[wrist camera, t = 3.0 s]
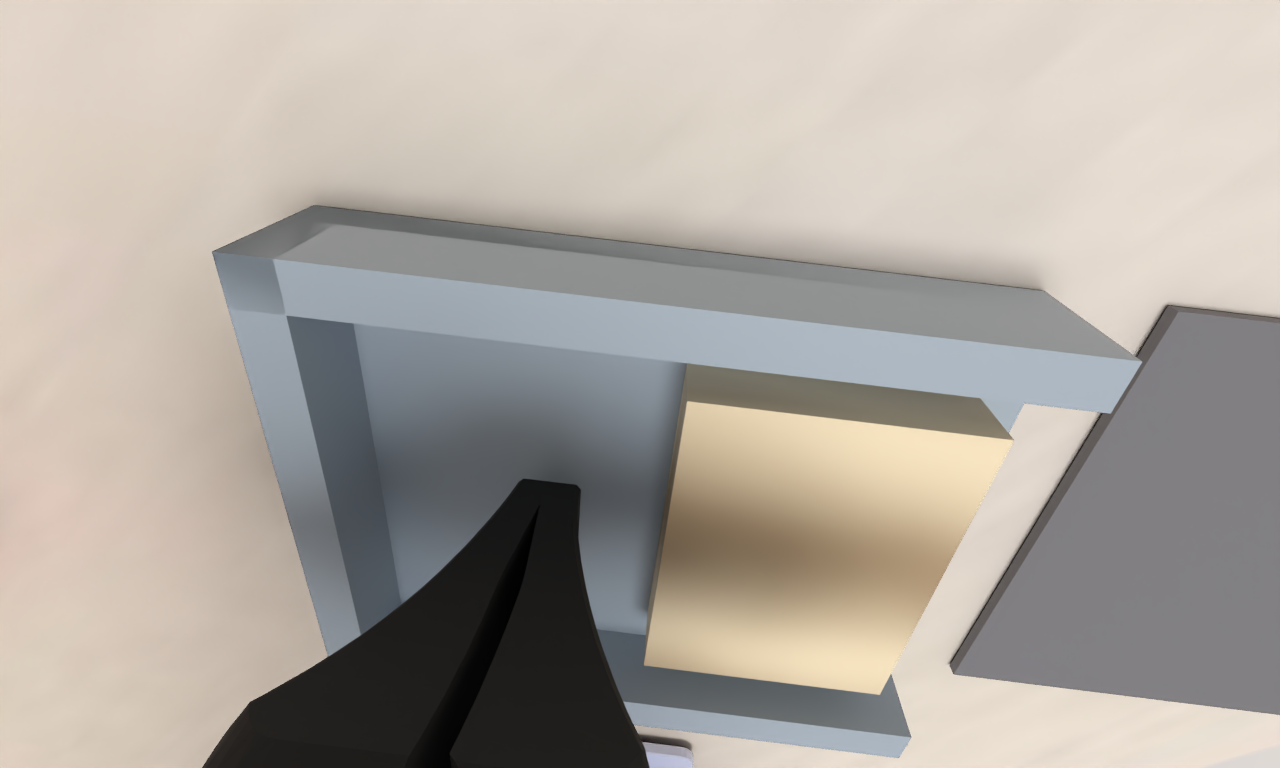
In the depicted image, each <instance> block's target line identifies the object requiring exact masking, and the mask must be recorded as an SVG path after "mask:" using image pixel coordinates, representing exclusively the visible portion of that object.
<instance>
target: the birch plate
mask: <svg viewBox="0 0 1280 768" xmlns="http://www.w3.org/2000/svg"><path fill="white" fill-rule="evenodd" d="M1013 442H1014V439H1013V438H1012V437H1011V436H1010V434H1009V433H1008V432H1007V431H1006V429H1005V428H1004V427H1003V426H1002V424H1001V423H1000V422H999V421H998V419H997V418H996V417H995V416H994V415H993V413H992V412H991V411H990V410H989V408H988V407H987V406H986V405H985V403H984V402H983V401H982V400H981V398H974V397H966V396H958V395H949V394H941V393H932V392H924V391H916V390H907V389H899V388H890V387H882V386H874V385H865V384H857V383H849V382H840V381H832V380H823V379H815V378H807V377H798V376H790V375H781V374H773V373H765V372H756V371H748V370H739V369H731V368H723V367H714V366H706V365H697V364H689V363H687V365H686V371H685V378H684V384H683V390H682V397H681V403H680V409H679V416H678V422H677V428H676V435H675V441H674V447H673V454H672V460H671V466H670V473H669V479H668V485H667V492H666V498H665V504H664V511H663V517H662V523H661V530H660V536H659V542H658V549H657V555H656V561H655V568H654V574H653V580H652V587H651V593H650V599H649V606H648V612H647V626H646V640H645V654H644V666H652V667H660V668H668V669H676V670H684V671H692V672H700V673H708V674H716V675H724V676H732V677H741V678H749V679H757V680H765V681H773V682H781V683H789V684H797V685H805V686H813V687H821V688H829V689H837V690H845V691H853V692H861V693H869V694H877V695H880V694H881V692H882V690H883V688H884V686H885V684H886V682H887V680H888V678H889V677H890V675H891V673H892V671H893V669H894V667H895V665H896V663H897V661H898V660H899V658H900V656H901V654H902V652H903V650H904V648H905V646H906V644H907V642H908V641H909V639H910V637H911V635H912V633H913V631H914V629H915V627H916V625H917V624H918V622H919V620H920V618H921V616H922V614H923V612H924V610H925V608H926V607H927V605H928V603H929V601H930V599H931V597H932V595H933V593H934V591H935V589H936V588H937V586H938V584H939V582H940V580H941V578H942V576H943V574H944V572H945V571H946V569H947V567H948V565H949V563H950V561H951V559H952V557H953V555H954V553H955V552H956V550H957V548H958V546H959V544H960V542H961V540H962V538H963V536H964V535H965V533H966V531H967V529H968V527H969V525H970V523H971V521H972V519H973V518H974V516H975V514H976V512H977V510H978V508H979V506H980V504H981V502H982V500H983V499H984V497H985V495H986V493H987V491H988V489H989V487H990V485H991V483H992V482H993V480H994V478H995V476H996V474H997V472H998V470H999V468H1000V466H1001V465H1002V463H1003V461H1004V459H1005V457H1006V455H1007V453H1008V451H1009V449H1010V447H1011V446H1012V444H1013Z"/></svg>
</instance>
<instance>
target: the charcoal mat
mask: <svg viewBox="0 0 1280 768" xmlns="http://www.w3.org/2000/svg"><path fill="white" fill-rule="evenodd" d="M1137 358H1138V359H1140V360H1141V361H1142V363H1141V365H1140V367H1139V368H1138V370H1137V372H1136V373H1135V375H1134V376H1133V378H1132V380H1131V381H1130V383H1129V385H1128V386H1127V388H1126V389H1125V391H1124V393H1123V394H1122V396H1121V398H1120V399H1119V401H1118V402H1117V404H1116V406H1115V407H1114V409H1113V411H1112V412H1111V414H1109V413H1103V414H1102V415H1101V417H1100V419H1099V420H1098V422H1097V424H1096V425H1095V427H1094V428H1093V430H1092V432H1091V433H1090V435H1089V437H1088V438H1087V440H1086V442H1085V443H1084V445H1083V447H1082V448H1081V450H1080V452H1079V453H1078V455H1077V456H1076V458H1075V460H1074V461H1073V463H1072V465H1071V466H1070V468H1069V470H1068V471H1067V473H1066V475H1065V476H1064V478H1063V480H1062V481H1061V483H1060V485H1059V486H1058V488H1057V489H1056V491H1055V493H1054V494H1053V496H1052V498H1051V499H1050V501H1049V503H1048V504H1047V506H1046V508H1045V509H1044V511H1043V513H1042V514H1041V516H1040V517H1039V519H1038V521H1037V522H1036V524H1035V526H1034V527H1033V529H1032V531H1031V532H1030V534H1029V536H1028V537H1027V539H1026V541H1025V542H1024V544H1023V546H1022V547H1021V549H1020V550H1019V552H1018V554H1017V555H1016V557H1015V559H1014V560H1013V562H1012V564H1011V565H1010V567H1009V569H1008V570H1007V572H1006V574H1005V575H1004V577H1003V578H1002V580H1001V582H1000V583H999V585H998V587H997V588H996V590H995V592H994V593H993V595H992V597H991V598H990V600H989V602H988V603H987V605H986V606H985V608H984V610H983V611H982V613H981V615H980V616H979V618H978V620H977V621H976V623H975V625H974V626H973V628H972V630H971V631H970V633H969V635H968V636H967V638H966V639H965V641H964V643H963V644H962V646H961V648H960V649H959V651H958V653H957V654H956V656H955V658H954V659H953V661H952V663H951V664H950V667H951V669H952V672H953V674H955V675H963V676H971V677H979V678H987V679H995V680H1003V681H1011V682H1019V683H1027V684H1035V685H1043V686H1051V687H1059V688H1067V689H1075V690H1083V691H1092V692H1100V693H1108V694H1116V695H1124V696H1132V697H1140V698H1148V699H1156V700H1164V701H1172V702H1180V703H1188V704H1196V705H1204V706H1212V707H1220V708H1229V709H1237V710H1245V711H1253V712H1261V713H1269V714H1277V715H1280V319H1279V318H1271V317H1262V316H1254V315H1245V314H1236V313H1228V312H1219V311H1211V310H1202V309H1194V308H1185V307H1177V306H1168V307H1167V308H1166V310H1165V311H1164V313H1163V315H1162V316H1161V318H1160V320H1159V321H1158V323H1157V325H1156V326H1155V328H1154V330H1153V331H1152V333H1151V335H1150V336H1149V338H1148V339H1147V341H1146V343H1145V344H1144V346H1143V348H1142V349H1141V351H1140V353H1139V354H1138V356H1137Z"/></svg>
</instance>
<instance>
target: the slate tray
mask: <svg viewBox="0 0 1280 768" xmlns="http://www.w3.org/2000/svg"><path fill="white" fill-rule="evenodd" d="M212 254H213V257H214V261H215V264H216V268H217V271H218V275H219V278H220V282H221V285H222V288H223V292H224V295H225V299H226V302H227V306H228V309H229V313H230V316H231V320H232V323H233V327H234V330H235V334H236V337H237V341H238V344H239V348H240V351H241V355H242V358H243V362H244V365H245V369H246V372H247V376H248V379H249V382H250V386H251V389H252V393H253V396H254V400H255V403H256V407H257V410H258V414H259V417H260V421H261V424H262V428H263V431H264V435H265V438H266V442H267V445H268V449H269V452H270V456H271V459H272V463H273V466H274V470H275V473H276V476H277V480H278V483H279V487H280V490H281V494H282V497H283V501H284V504H285V508H286V511H287V515H288V518H289V522H290V525H291V529H292V532H293V536H294V539H295V543H296V546H297V550H298V553H299V557H300V560H301V564H302V567H303V570H304V574H305V577H306V581H307V584H308V588H309V591H310V595H311V598H312V602H313V605H314V609H315V612H316V616H317V619H318V623H319V626H320V630H321V633H322V637H323V640H324V644H325V647H326V651H327V654H328V657H329V656H330V655H332V654H333V653H335V652H336V651H338V650H339V649H341V648H342V647H344V646H345V645H347V644H348V643H350V642H351V641H353V640H354V639H356V638H357V637H359V636H360V635H362V634H363V633H364V632H366V631H367V630H369V629H370V628H371V627H373V626H374V625H375V624H377V623H378V622H379V621H381V620H382V619H383V618H385V617H386V616H387V615H388V614H390V613H391V612H392V611H394V610H395V609H396V608H397V607H399V606H400V605H401V604H403V603H404V602H405V601H406V600H408V599H409V598H410V597H411V596H412V595H413V594H415V593H416V592H417V591H418V590H419V589H420V588H422V587H423V586H424V585H425V584H426V583H427V582H428V581H430V580H431V579H432V578H433V577H434V576H435V575H436V574H437V573H438V572H439V571H440V570H441V569H442V568H443V567H444V566H445V565H446V564H447V563H448V562H449V561H450V560H451V559H452V558H453V557H454V556H455V555H456V554H457V553H459V552H460V551H461V550H462V549H463V548H464V547H465V545H466V544H467V543H468V542H469V541H470V540H471V539H472V538H473V537H474V536H475V535H476V533H477V532H478V531H479V530H480V529H481V528H482V527H483V526H484V525H485V523H486V522H487V521H488V520H489V519H490V518H491V517H492V515H493V514H494V513H495V512H496V511H497V509H498V508H499V507H500V506H501V504H502V503H503V502H504V501H505V499H506V498H507V497H508V496H509V494H510V493H511V492H512V490H513V489H514V488H515V486H516V485H517V483H518V482H519V481H521V480H522V479H533V480H541V481H549V482H558V483H566V484H575V485H577V486H578V487H579V488H580V489H581V499H580V517H579V536H578V538H579V547H580V555H581V562H582V568H583V574H584V579H585V584H586V589H587V594H588V598H589V602H590V606H591V610H592V614H593V618H594V621H595V625H596V628H597V632H598V635H599V638H600V641H601V644H602V648H603V651H604V653H605V656H606V659H607V661H608V664H609V667H610V670H611V672H612V675H613V678H614V680H615V683H616V686H617V688H618V691H619V693H620V695H621V698H622V700H623V702H624V705H625V707H626V709H627V712H628V714H629V716H630V718H631V720H632V722H633V725H639V726H647V727H655V728H663V729H671V730H679V731H687V732H695V733H702V734H710V735H718V736H726V737H734V738H742V739H750V740H758V741H766V742H774V743H782V744H790V745H798V746H806V747H814V748H822V749H830V750H838V751H846V752H854V753H862V754H870V755H878V756H885V757H893V758H899V757H900V755H901V754H902V752H903V750H904V749H905V747H906V745H907V744H908V742H909V741H910V739H911V735H910V732H909V729H908V726H907V722H906V719H905V716H904V713H903V710H902V707H901V704H900V700H899V697H898V694H897V691H896V688H895V685H894V682H893V678H892V675H890V677H889V678H888V680H887V682H886V684H885V686H884V688H883V690H882V692H881V694H880V695H877V694H869V693H861V692H853V691H845V690H837V689H829V688H821V687H813V686H805V685H797V684H789V683H781V682H773V681H765V680H757V679H749V678H741V677H732V676H724V675H716V674H708V673H700V672H692V671H684V670H676V669H668V668H660V667H652V666H644V654H645V640H646V626H647V612H648V606H649V599H650V593H651V587H652V580H653V574H654V568H655V561H656V555H657V549H658V542H659V536H660V530H661V523H662V517H663V511H664V504H665V498H666V492H667V485H668V479H669V473H670V466H671V460H672V454H673V447H674V441H675V435H676V428H677V422H678V416H679V409H680V403H681V397H682V390H683V384H684V378H685V371H686V365H687V363H689V364H697V365H706V366H714V367H723V368H731V369H739V370H748V371H756V372H765V373H773V374H781V375H790V376H798V377H807V378H815V379H823V380H832V381H840V382H849V383H857V384H865V385H874V386H882V387H890V388H899V389H907V390H916V391H924V392H932V393H941V394H949V395H958V396H966V397H974V398H981V400H982V401H983V402H984V403H985V405H986V406H987V407H988V408H989V410H990V411H991V412H992V413H993V415H994V416H995V417H996V418H997V419H998V421H999V422H1000V423H1001V424H1002V426H1003V427H1004V428H1005V429H1006V431H1007V432H1008V433H1009V432H1010V430H1011V428H1012V426H1013V424H1014V422H1015V420H1016V418H1017V416H1018V414H1019V412H1020V410H1021V409H1022V407H1023V405H1024V403H1025V404H1033V405H1042V406H1050V407H1058V408H1067V409H1075V410H1084V411H1092V412H1100V413H1109V414H1111V412H1112V411H1113V409H1114V407H1115V406H1116V404H1117V402H1118V401H1119V399H1120V398H1121V396H1122V394H1123V393H1124V391H1125V389H1126V388H1127V386H1128V385H1129V383H1130V381H1131V380H1132V378H1133V376H1134V375H1135V373H1136V372H1137V370H1138V368H1139V367H1140V365H1141V363H1142V361H1141V360H1140V359H1138V358H1137V357H1135V356H1134V355H1133V354H1131V353H1130V352H1128V351H1127V350H1126V349H1124V348H1123V347H1121V346H1120V345H1119V344H1117V343H1116V342H1115V341H1113V340H1112V339H1110V338H1109V337H1108V336H1106V335H1105V334H1103V333H1102V332H1101V331H1099V330H1098V329H1096V328H1095V327H1094V326H1092V325H1091V324H1090V323H1088V322H1087V321H1085V320H1084V319H1083V318H1081V317H1080V316H1078V315H1077V314H1076V313H1074V312H1073V311H1071V310H1070V309H1069V308H1067V307H1066V306H1065V305H1063V304H1062V303H1060V302H1059V301H1058V300H1056V299H1055V298H1053V297H1052V296H1051V295H1049V294H1048V293H1046V292H1045V291H1040V290H1032V289H1023V288H1014V287H1006V286H997V285H989V284H980V283H972V282H963V281H955V280H946V279H938V278H929V277H921V276H912V275H903V274H895V273H886V272H878V271H869V270H861V269H852V268H844V267H835V266H827V265H818V264H810V263H801V262H792V261H784V260H775V259H767V258H758V257H750V256H741V255H733V254H724V253H716V252H707V251H699V250H690V249H681V248H673V247H664V246H656V245H647V244H639V243H630V242H622V241H613V240H605V239H596V238H588V237H579V236H570V235H562V234H553V233H545V232H536V231H528V230H519V229H511V228H502V227H494V226H485V225H477V224H468V223H459V222H451V221H442V220H434V219H425V218H417V217H408V216H400V215H391V214H383V213H374V212H366V211H357V210H348V209H340V208H331V207H323V206H314V205H313V206H311V207H309V208H307V209H304V210H302V211H300V212H298V213H296V214H293V215H291V216H289V217H287V218H285V219H283V220H280V221H278V222H276V223H274V224H272V225H269V226H267V227H265V228H263V229H261V230H258V231H256V232H254V233H252V234H250V235H248V236H245V237H243V238H241V239H239V240H237V241H234V242H232V243H230V244H228V245H226V246H223V247H221V248H219V249H217V250H215V251H212Z"/></svg>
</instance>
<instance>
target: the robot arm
mask: <svg viewBox="0 0 1280 768" xmlns="http://www.w3.org/2000/svg"><path fill="white" fill-rule="evenodd" d="M580 499H581V489H580V488H579V487H578V486H577V485H575V484H566V483H558V482H549V481H541V480H533V479H522V480H521V481H519V482H518V483H517V485H516V486H515V488H514V489H513V490H512V492H511V493H510V494H509V496H508V497H507V498H506V499H505V501H504V502H503V503H502V504H501V506H500V507H499V508H498V509H497V511H496V512H495V513H494V514H493V515H492V517H491V518H490V519H489V520H488V521H487V522H486V523H485V525H484V526H483V527H482V528H481V529H480V530H479V531H478V532H477V533H476V535H475V536H474V537H473V538H472V539H471V540H470V541H469V542H468V543H467V544H466V545H465V547H464V548H463V549H462V550H461V551H460V552H459V553H457V554H456V555H455V556H454V557H453V558H452V559H451V560H450V561H449V562H448V563H447V564H446V565H445V566H444V567H443V568H442V569H441V570H440V571H439V572H438V573H437V574H436V575H435V576H434V577H433V578H432V579H431V580H430V581H428V582H427V583H426V584H425V585H424V586H423V587H422V588H420V589H419V590H418V591H417V592H416V593H415V594H413V595H412V596H411V597H410V598H409V599H408V600H406V601H405V602H404V603H403V604H401V605H400V606H399V607H397V608H396V609H395V610H394V611H392V612H391V613H390V614H388V615H387V616H386V617H385V618H383V619H382V620H381V621H379V622H378V623H377V624H375V625H374V626H373V627H371V628H370V629H369V630H367V631H366V632H364V633H363V634H362V635H360V636H359V637H357V638H356V639H354V640H353V641H351V642H350V643H348V644H347V645H345V646H344V647H342V648H341V649H339V650H338V651H336V652H335V653H333V654H332V655H330V656H329V657H327V658H326V659H324V660H323V661H321V662H319V663H318V664H316V665H315V666H313V667H311V668H310V669H308V670H306V671H305V672H303V673H301V674H299V675H298V676H296V677H294V678H292V679H291V680H289V681H287V682H285V683H284V684H282V685H280V686H278V687H277V688H275V689H273V690H271V691H270V692H268V693H266V694H264V695H263V696H261V697H259V698H257V699H255V700H253V701H251V702H250V703H249V704H248V705H247V707H246V708H245V709H244V711H243V712H242V713H241V714H240V716H239V717H238V718H237V719H236V720H235V722H234V723H233V724H232V725H231V726H230V728H229V729H228V730H227V732H226V733H225V734H224V736H223V737H222V739H221V740H220V742H219V743H218V745H217V746H216V748H215V749H214V751H213V752H212V754H211V755H210V757H209V758H208V760H207V761H206V763H205V764H204V766H203V767H202V768H693V753H692V752H691V751H690V750H689V749H687V748H684V747H679V746H671V745H663V744H655V743H647V742H642V741H641V739H640V737H639V735H638V733H637V731H636V729H635V727H634V725H633V722H632V720H631V718H630V716H629V714H628V712H627V709H626V707H625V705H624V702H623V700H622V698H621V695H620V693H619V691H618V688H617V686H616V683H615V680H614V678H613V675H612V672H611V670H610V667H609V664H608V661H607V659H606V656H605V653H604V651H603V648H602V644H601V641H600V638H599V635H598V632H597V628H596V625H595V621H594V618H593V614H592V610H591V606H590V602H589V598H588V594H587V589H586V584H585V579H584V574H583V568H582V562H581V555H580V547H579V538H578V536H579V517H580Z"/></svg>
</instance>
